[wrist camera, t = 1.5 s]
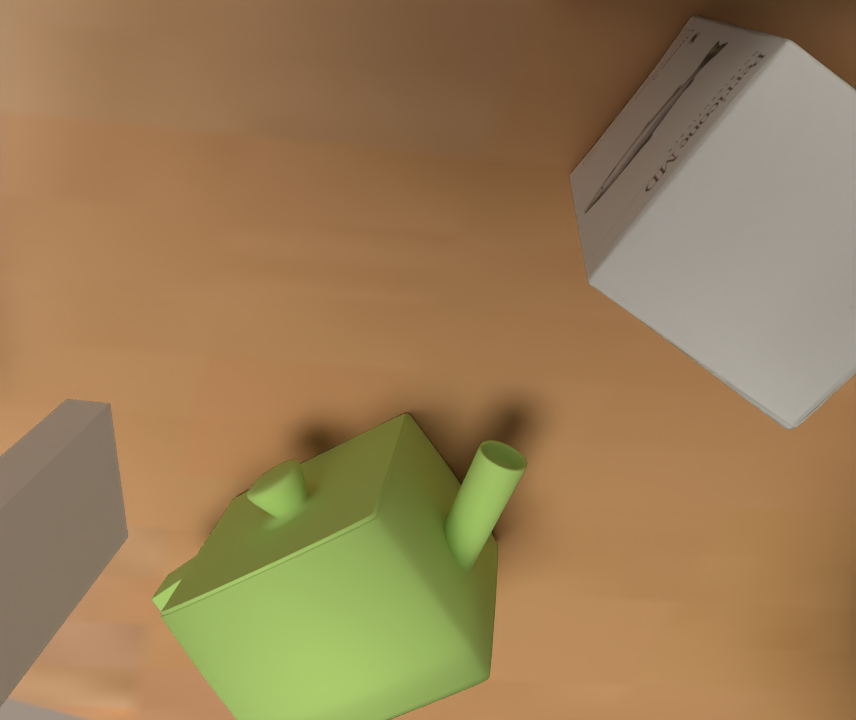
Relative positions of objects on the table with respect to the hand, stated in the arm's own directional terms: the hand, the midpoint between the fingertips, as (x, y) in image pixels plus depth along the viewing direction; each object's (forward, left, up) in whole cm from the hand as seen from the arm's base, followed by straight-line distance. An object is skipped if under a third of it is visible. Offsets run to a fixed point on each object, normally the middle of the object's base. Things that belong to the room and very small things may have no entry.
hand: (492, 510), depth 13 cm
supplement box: (-2, +7, -21) cm, 22 cm away
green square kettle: (+15, -6, -21) cm, 27 cm away
